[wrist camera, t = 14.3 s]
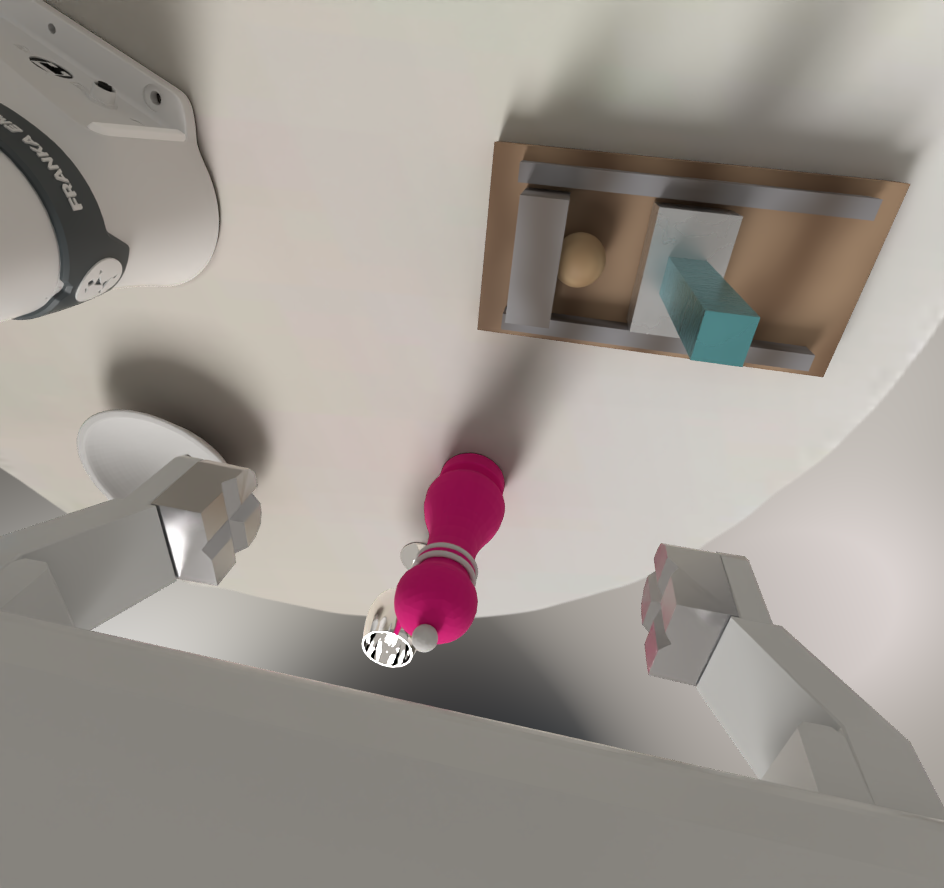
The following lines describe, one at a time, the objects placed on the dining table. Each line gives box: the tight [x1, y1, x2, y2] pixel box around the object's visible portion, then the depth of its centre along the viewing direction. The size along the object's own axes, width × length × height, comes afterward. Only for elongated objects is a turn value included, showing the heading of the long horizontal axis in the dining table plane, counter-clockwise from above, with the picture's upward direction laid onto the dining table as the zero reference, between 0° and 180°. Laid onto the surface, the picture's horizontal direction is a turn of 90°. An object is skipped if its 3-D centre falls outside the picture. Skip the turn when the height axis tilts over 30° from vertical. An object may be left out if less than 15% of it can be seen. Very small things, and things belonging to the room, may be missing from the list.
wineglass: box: [362, 543, 427, 667], centre depth 54 cm, size 6×6×12 cm
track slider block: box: [626, 202, 760, 367], centre depth 32 cm, size 5×8×15 cm, turn 175°
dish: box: [77, 410, 227, 500], centre depth 55 cm, size 18×14×5 cm
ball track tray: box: [477, 141, 910, 377], centre depth 37 cm, size 26×13×7 cm, turn 85°
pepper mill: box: [394, 453, 505, 652], centre depth 44 cm, size 7×7×20 cm
